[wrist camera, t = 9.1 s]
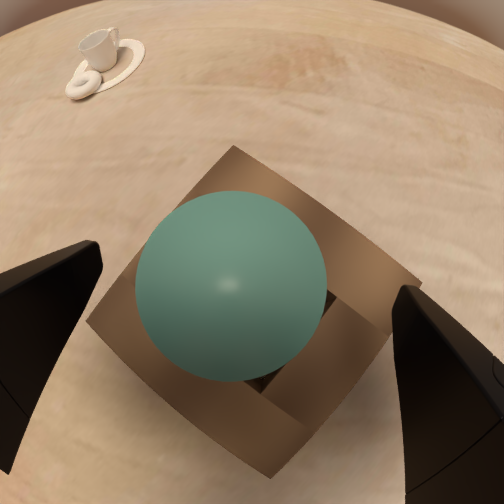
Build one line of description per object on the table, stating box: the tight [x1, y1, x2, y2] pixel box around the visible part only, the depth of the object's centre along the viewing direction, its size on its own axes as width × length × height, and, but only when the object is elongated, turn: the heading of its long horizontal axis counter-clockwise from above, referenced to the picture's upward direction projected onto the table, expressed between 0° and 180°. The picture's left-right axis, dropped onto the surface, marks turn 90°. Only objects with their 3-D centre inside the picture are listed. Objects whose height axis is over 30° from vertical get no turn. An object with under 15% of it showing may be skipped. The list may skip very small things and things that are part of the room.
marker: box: [135, 191, 327, 382], centre depth 12 cm, size 4×4×12 cm
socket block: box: [86, 145, 422, 479], centre depth 16 cm, size 12×12×4 cm
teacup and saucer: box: [65, 27, 145, 100], centre depth 22 cm, size 9×8×4 cm
